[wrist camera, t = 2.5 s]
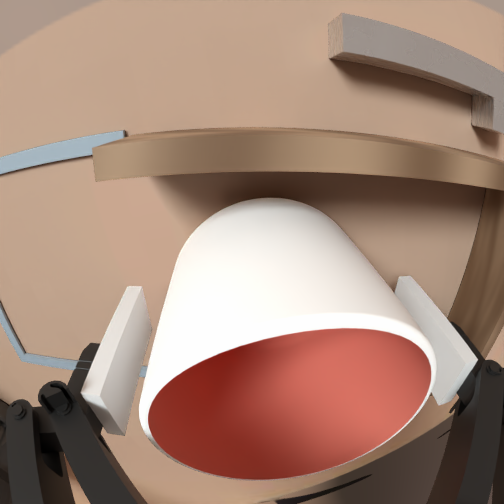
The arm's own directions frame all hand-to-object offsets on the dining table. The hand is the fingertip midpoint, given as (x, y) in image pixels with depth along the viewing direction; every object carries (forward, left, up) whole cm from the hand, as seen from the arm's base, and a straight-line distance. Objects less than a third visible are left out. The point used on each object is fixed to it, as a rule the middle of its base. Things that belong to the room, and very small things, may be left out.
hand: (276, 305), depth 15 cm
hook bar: (+9, +13, -3) cm, 16 cm away
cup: (0, 0, -3) cm, 3 cm away
